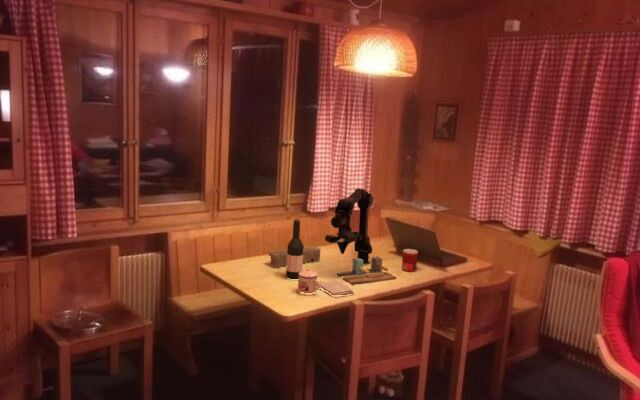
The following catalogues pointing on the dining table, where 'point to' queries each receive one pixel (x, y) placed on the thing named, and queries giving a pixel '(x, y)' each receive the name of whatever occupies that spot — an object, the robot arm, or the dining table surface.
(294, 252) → the wine bottle
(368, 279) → the hole board
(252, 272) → the dining table surface
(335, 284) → the washcloth
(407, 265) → the canned food
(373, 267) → the gauge rail
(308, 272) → the teacup with lid
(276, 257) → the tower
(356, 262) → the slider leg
